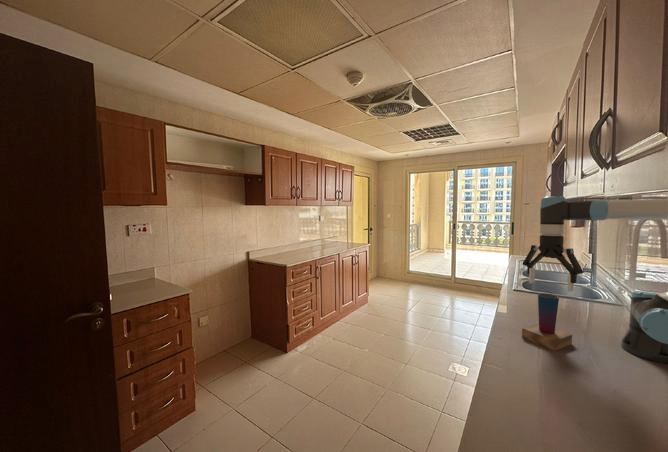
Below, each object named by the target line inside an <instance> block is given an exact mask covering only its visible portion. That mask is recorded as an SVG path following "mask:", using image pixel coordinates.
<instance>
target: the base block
mask: <svg viewBox="0 0 668 452" xmlns="http://www.w3.org/2000/svg"><path fill="white" fill-rule="evenodd" d="M521 330H522V331H521V338H522V339H525V340H527V341H530V342H531V343H535V344H537V345H540V346H542V347H544V348H546V349H550V350H552V351H554V352H556V351H558V350H560V349H563V348H566V347H570V346H572V343H573V334H571V333H569V332H565V331H563V330H559V329H557V328H555V333H554V334H547V333H543V332H541V331H540V330H539V322H537V323H535V324H532V325H529V326H526V327H522V329H521Z"/></svg>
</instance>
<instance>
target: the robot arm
mask: <svg viewBox="0 0 668 452" xmlns="http://www.w3.org/2000/svg"><path fill="white" fill-rule="evenodd" d="M539 209H540V210H539V211H540V212H539V213H540V215H539V216H540V217H539V219H540V220H539V234H540V235H539V245H537V244H532V245H530V250H529V252H528V253H527V255H526V257H525V258H524V260H523V262H522V265H523V266H524V267H525V266H526V274H527V275H528V283H529V284H534V283H535V282H536V267H534V266H535V265H537V263H538V262H540V261H541V260H542V259H543V258H550V259H556V260H558V262H560V263H561V265H562V266H563V267H564V268H565V269H566V271H567V272H568V274H567V282H566V283H567V285H566V290H567V292H569V293H570V292H573V291H574V285H575V284H576V283H577V277H578V275H583V274H584V270H583V268H582V266H581V264H580V263H579V261H578V259H577V257H576V256H575V253H574V248H573V247H569V248H565V247H564V241H565V240H564V233H565V221H593V222H597V221H605V220H623V221H625V220H639V221H640V220H645V221H646V220H647V221H648V220H650V221H651V220H653V221H656V220H658V221H659V220H660V221H662V220H663V221H665V220H666V221H667V220H668V198H650V199H622V200H621V199H619V200H617V199H616V200H601V199H600V200H599V199H592V200H590V199H589V200H566V197H565V196H563V195H561V196H560V195H559V196H554V195H553V196H544V197H543V196H542V198H541V200H540V208H539ZM538 250H539V253H538V254H537V255H536V253H537V251H538ZM563 253H564V254H566V256H567V258H568V260H569V261H568V260H567V259H566V256H565V255H563ZM535 255H536V256H535ZM534 256H535V257H534ZM629 299H630V308H629V309H630V310H629V311H630V312H629V321H628V322H629V324H628V325H629V326H628V328H627V331H626V332H625V334H624V336H623V337H622V339H621V342H620V343H621V345H620V346H621V348H622V349H623V350H625V351H626V352H627V353H631V354H632V355H635V356H637V357H640V358H642V359H647V360H649V361H654V362H656V363H657V362H658V363H661V364H668V291H665V292H652V291H651V292H650V291H641V290H639V291H638V290H635V291H632V292H631V296H630V298H629Z"/></svg>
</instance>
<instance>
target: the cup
mask: <svg viewBox="0 0 668 452" xmlns="http://www.w3.org/2000/svg"><path fill="white" fill-rule="evenodd" d="M559 300H560V296H558V295H555V294H552V293H548V292H547V293H546V292H540V293H537V306H538V307H537V309H538V310H537V311H538V323H539V330H540V331H541V332H543V333H547V334H554V333H555V329H556V325H557V316H558V310H559V309H558V308H559Z"/></svg>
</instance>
